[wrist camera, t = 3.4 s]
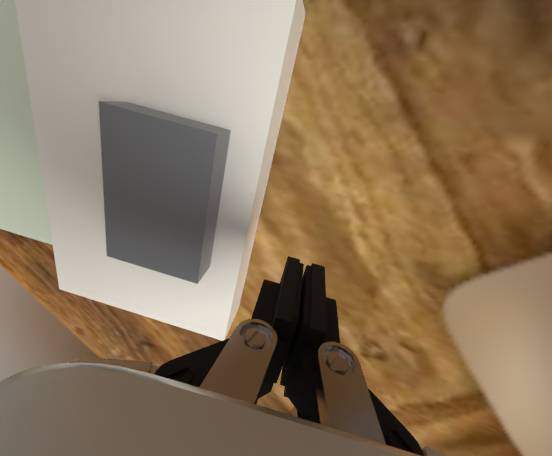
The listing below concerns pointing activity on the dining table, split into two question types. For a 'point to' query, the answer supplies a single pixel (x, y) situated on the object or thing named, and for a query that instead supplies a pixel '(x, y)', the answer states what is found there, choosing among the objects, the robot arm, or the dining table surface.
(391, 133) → the dining table surface
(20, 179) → the mat
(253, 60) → the plate
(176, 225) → the tile
